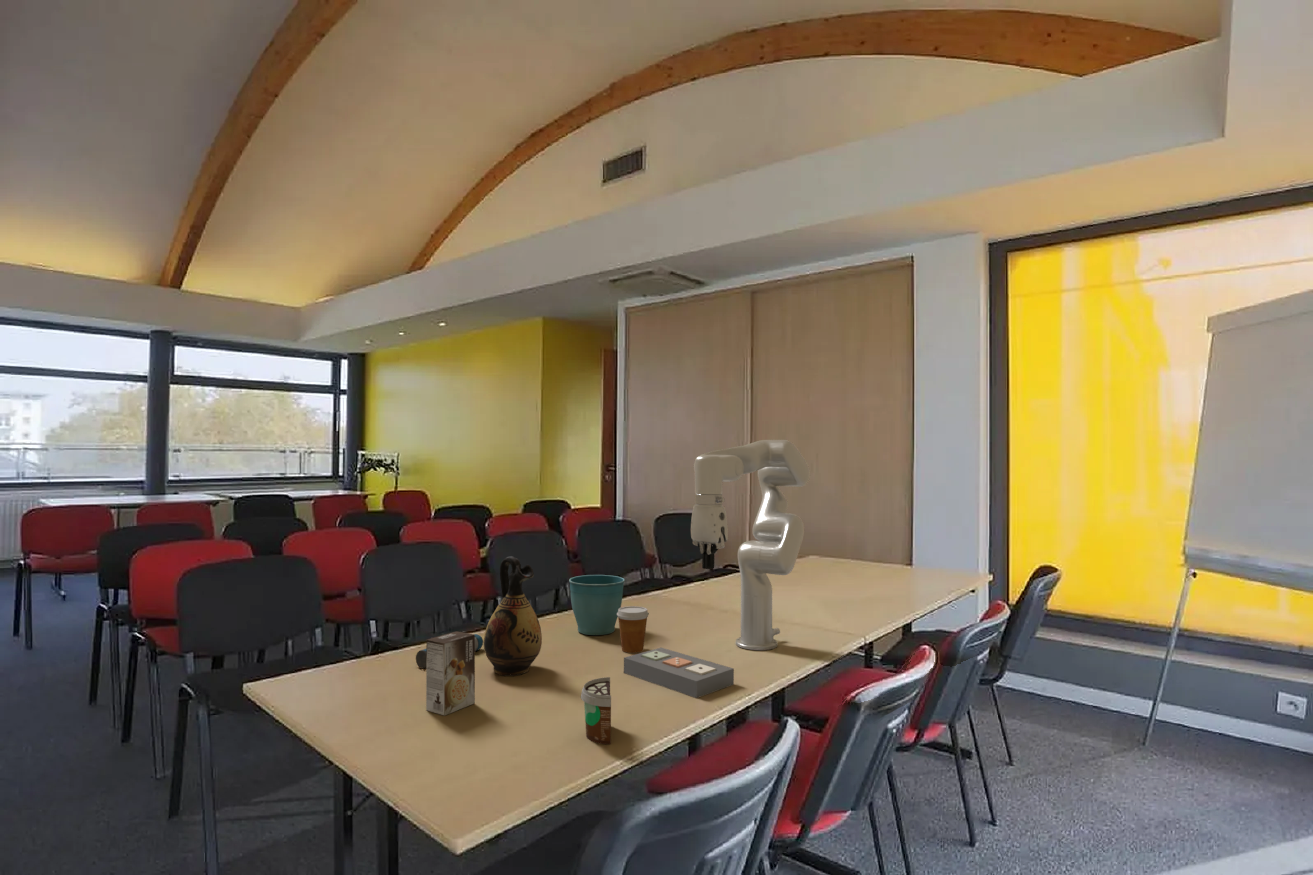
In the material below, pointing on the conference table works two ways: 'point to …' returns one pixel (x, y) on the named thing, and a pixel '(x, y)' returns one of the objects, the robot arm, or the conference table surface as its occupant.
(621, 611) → the disposable coffee cup
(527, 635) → the ceramic jug
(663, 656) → the button two dots
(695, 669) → the button one dot
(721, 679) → the console
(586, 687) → the food container
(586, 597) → the flower pot
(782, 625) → the conference table surface
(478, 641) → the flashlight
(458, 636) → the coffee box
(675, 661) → the button three dots
